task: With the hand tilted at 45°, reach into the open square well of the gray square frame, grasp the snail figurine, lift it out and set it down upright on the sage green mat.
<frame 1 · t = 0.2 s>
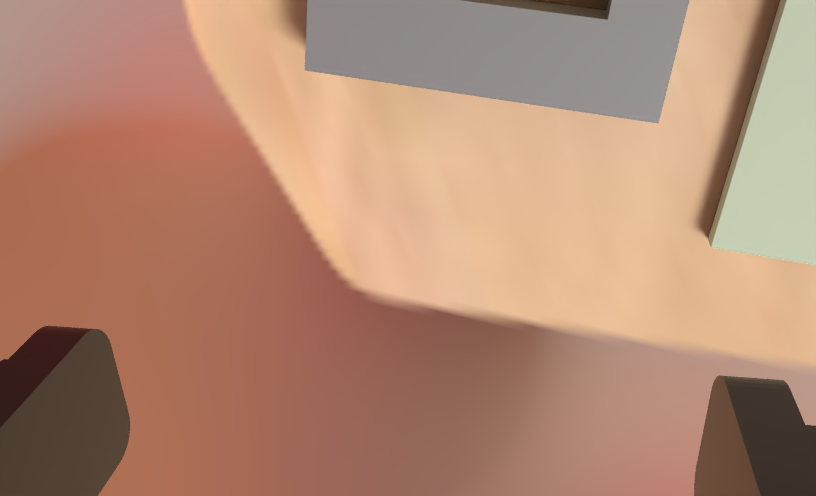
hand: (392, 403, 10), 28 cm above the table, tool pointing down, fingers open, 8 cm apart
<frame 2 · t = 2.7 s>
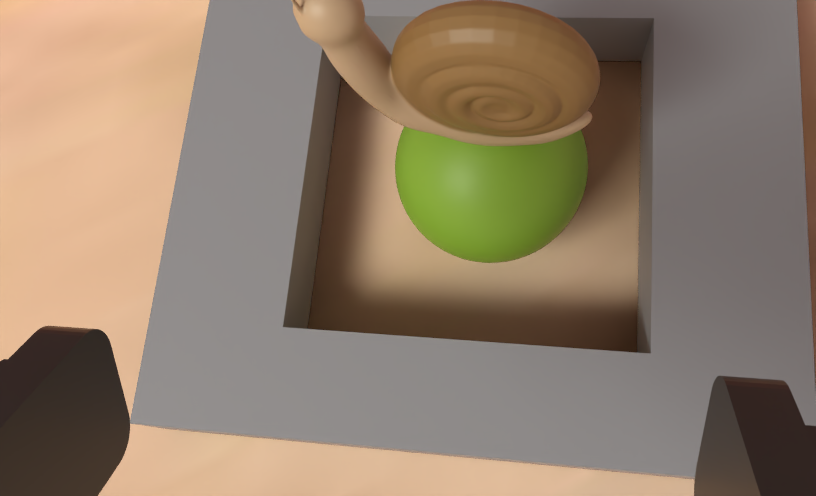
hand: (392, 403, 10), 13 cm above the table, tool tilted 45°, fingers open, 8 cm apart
gray square frame: (477, 198, 25), on the table
snail figurine: (477, 200, 25), resting in gray square frame
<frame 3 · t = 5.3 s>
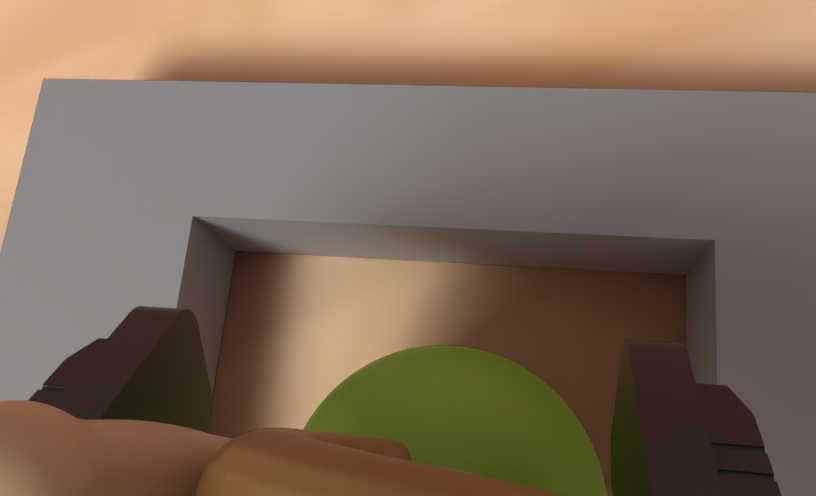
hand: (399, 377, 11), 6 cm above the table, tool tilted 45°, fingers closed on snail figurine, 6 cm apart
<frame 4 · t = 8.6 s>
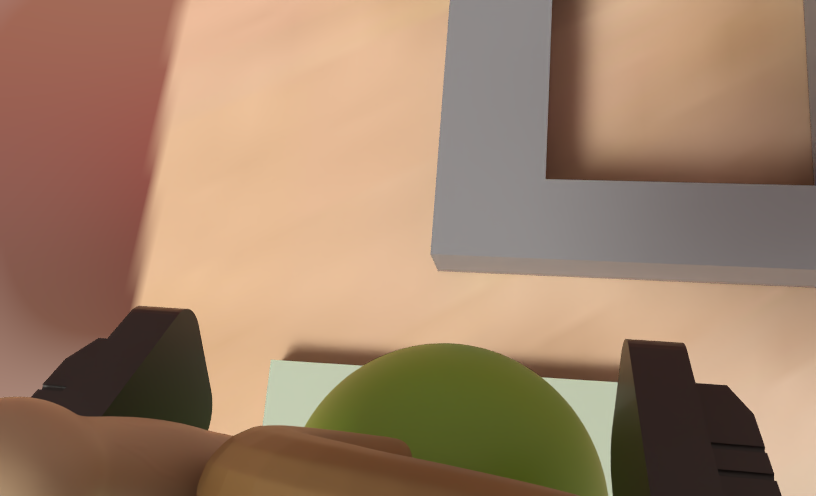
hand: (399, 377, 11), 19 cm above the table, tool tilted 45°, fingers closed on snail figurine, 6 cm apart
gray square frame: (675, 87, 31), on the table
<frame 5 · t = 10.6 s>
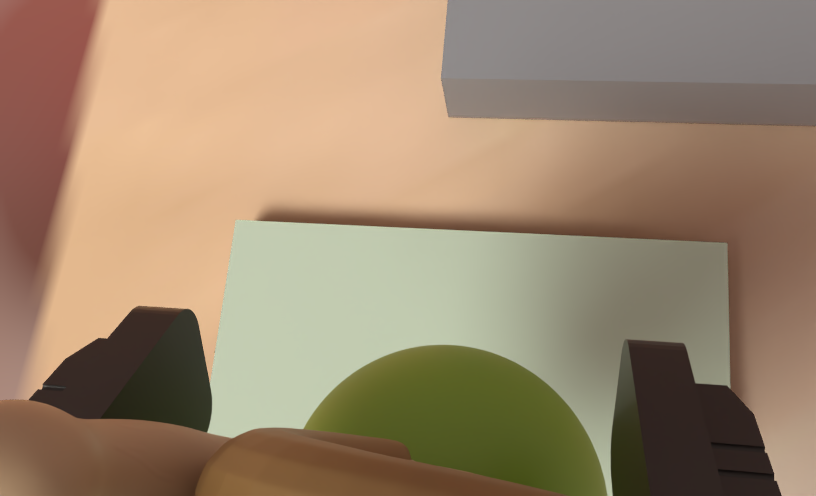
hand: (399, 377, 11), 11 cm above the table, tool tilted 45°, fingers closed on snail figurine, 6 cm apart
green mat: (454, 485, 21), on the table
when the fingers open (7 cm above the table, at t = 12.1 s): snail figurine stays where it is, resting on green mat.
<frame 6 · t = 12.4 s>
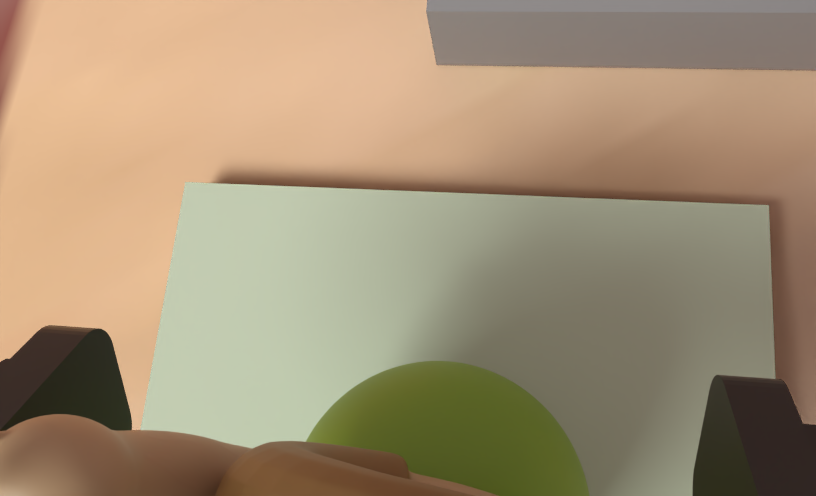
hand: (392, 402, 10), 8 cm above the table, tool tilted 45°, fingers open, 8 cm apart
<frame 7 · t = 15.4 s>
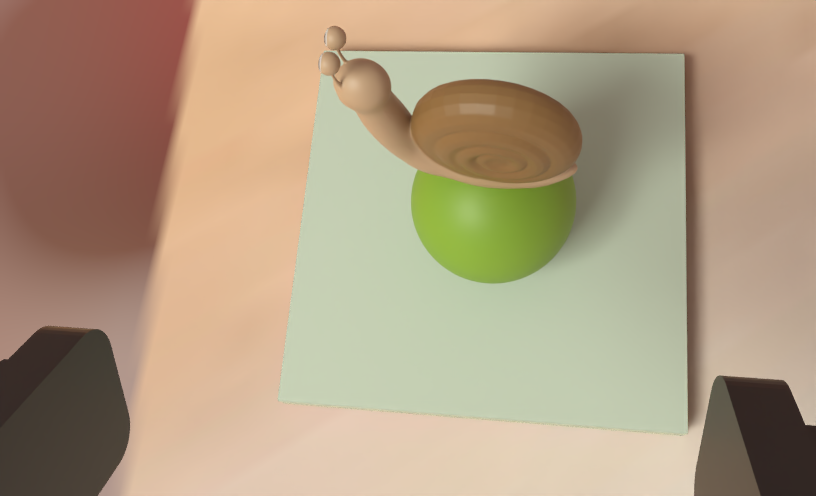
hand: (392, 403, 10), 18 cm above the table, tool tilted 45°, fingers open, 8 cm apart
green mat: (487, 230, 29), on the table
snail figurine: (481, 226, 29), point 1 cm above the table, touching green mat
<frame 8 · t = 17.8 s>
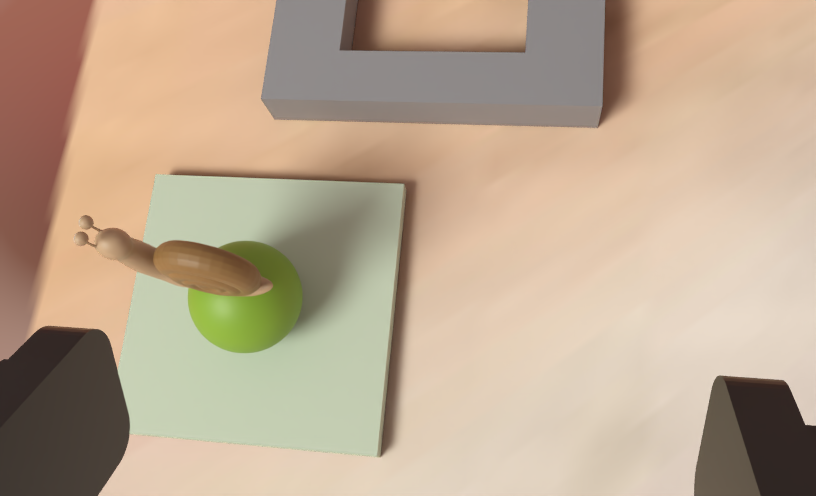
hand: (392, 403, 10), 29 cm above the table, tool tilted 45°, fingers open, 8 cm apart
green mat: (264, 309, 41), on the table
snail figurine: (255, 307, 40), point 1 cm above the table, touching green mat
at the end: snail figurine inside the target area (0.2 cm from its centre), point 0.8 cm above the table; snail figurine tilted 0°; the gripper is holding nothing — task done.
